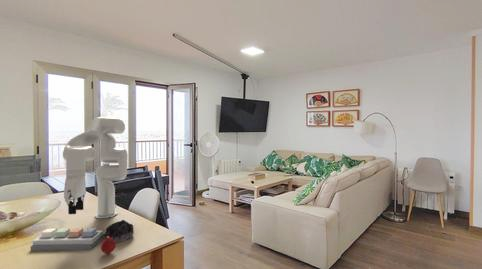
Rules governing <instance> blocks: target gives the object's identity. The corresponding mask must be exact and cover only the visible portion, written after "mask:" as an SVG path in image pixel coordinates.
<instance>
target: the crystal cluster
mask: <svg viewBox="0 0 482 269" xmlns="http://www.w3.org/2000/svg"><path fill="white" fill-rule="evenodd" d="M107 236H109V237H110V238H112V239H113V240H114V241H115V242H116V244H118V243H122V242H125V241H127V240H129V239H130V238H131V237H133V236H134V225H133V224H132V223H129V222H128V221H126V220H124V219H122V220H119V221H116V222H113V223H111V224H109V225H108V226H107V227H106V228H105V233H104V238H103V239H104V240H105V239H106V238H107Z"/></svg>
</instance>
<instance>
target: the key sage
mask: <svg viewBox="0 0 482 269" xmlns="http://www.w3.org/2000/svg"><path fill="white" fill-rule="evenodd" d="M70 231H71V228H70V227H69V228H67V227H66V228H62V227H61V228H59V229H57V231H56V232H55V237H66V236H67V235H69V232H70Z"/></svg>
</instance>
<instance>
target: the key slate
mask: <svg viewBox="0 0 482 269" xmlns="http://www.w3.org/2000/svg"><path fill="white" fill-rule="evenodd" d="M97 231H98V230H97V227H88V228H85V230H84V229H83V237H92V236H94V235H95V234H96V233H97Z"/></svg>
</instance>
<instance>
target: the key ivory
mask: <svg viewBox="0 0 482 269" xmlns="http://www.w3.org/2000/svg"><path fill="white" fill-rule="evenodd" d="M56 231H58V228H47V229H45V230H43V231H41V234H40V236H41V238H48V237H52V236H54V235H55V232H56Z"/></svg>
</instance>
